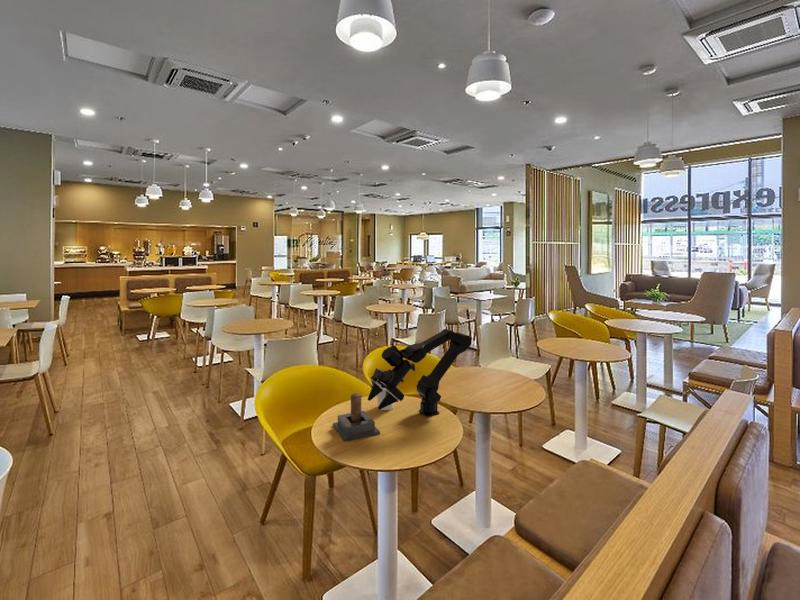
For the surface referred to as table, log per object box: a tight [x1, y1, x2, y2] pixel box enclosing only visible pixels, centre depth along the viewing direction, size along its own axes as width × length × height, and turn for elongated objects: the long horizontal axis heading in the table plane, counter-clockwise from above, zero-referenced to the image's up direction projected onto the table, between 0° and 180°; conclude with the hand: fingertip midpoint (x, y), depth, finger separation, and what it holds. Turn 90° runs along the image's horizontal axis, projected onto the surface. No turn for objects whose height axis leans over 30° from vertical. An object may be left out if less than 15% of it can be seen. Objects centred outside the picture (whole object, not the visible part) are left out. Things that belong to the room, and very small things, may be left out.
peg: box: [350, 392, 362, 423], centre depth 157 cm, size 4×4×13 cm
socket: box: [332, 410, 381, 442], centre depth 158 cm, size 14×14×4 cm
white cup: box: [376, 388, 394, 411], centre depth 179 cm, size 8×8×10 cm
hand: (373, 404), depth 161 cm, fingers open, 9 cm apart
